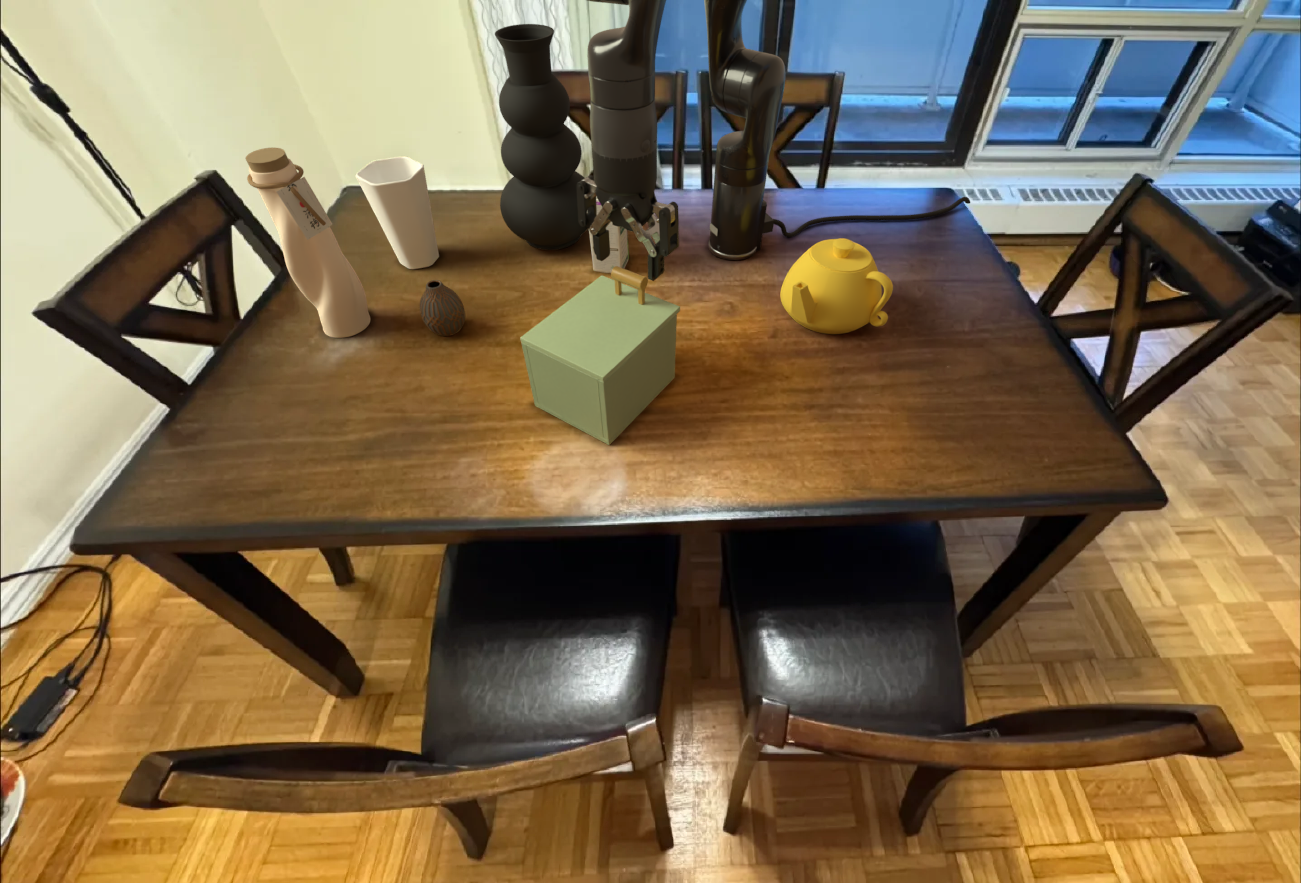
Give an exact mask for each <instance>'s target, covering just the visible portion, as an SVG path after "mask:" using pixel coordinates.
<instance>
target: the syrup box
mask: <svg viewBox="0 0 1301 883" xmlns="http://www.w3.org/2000/svg"><path fill="white" fill-rule="evenodd" d="M596 208H597V215H598V213H599V212H600V210H601V209H602V206H601V204H600V202H599V200H598V198H597V197H596ZM606 230H609V241H610V255H609V257H607V258H606V259H605V260H603V261H600V260H597V258H596V255H595V253H594V247H593V235H592V234H591V233H590V230H589V229H588V234H589V243H590V250H591V260H592V269H593V271H594V272H596V273H597V272H598V273H602V274H603V273H604V274H611V272H612V269H613V268H614V267H615V266H618V267H621V268H623V269H626V267H627V265H628V262H629V259H630V249H629V231H628V230H626V229H625V228H623V227H617V226H614V225H613V224H612V222H610V223H609V225H608V226H607V227H606Z"/></svg>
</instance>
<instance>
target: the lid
mask: <svg viewBox="0 0 1301 883" xmlns="http://www.w3.org/2000/svg"><path fill="white" fill-rule="evenodd" d="M610 277H611V278H610ZM610 277H607V276H604V275H600V276H599V277H597V278H596V279H595V280H594V281H592V282H591V283H590V284H588V285H587V286H586V287H584V288H583V289H582V290H581V291H579V292H578V293H577V294H575V295H574V296H573V297H571V298H570V299H569V300H567V301H566V302H565V303H564V304H562V305H561V306H559V307H558V308H557V309H555V310H554V311H553V312H552V313H550V314H549V315H547V316H546V317H545V318H544V319H542V320H541V321H540V322H538V323H537V324H536V325H535V326H533V327H532V328H530V329H529V330H528V331H527V332H525V333H524V334H523V335H522V336H520V337H519V339H520V342H521V343H524V344H526V345H528V346H530V347H532V348H534V349H536V350H538V351H540V352H543V353H545V354H547V355H549V356H551V357H553V358H555V359H557V360H559V361H561V362H563V363H565V364H567V365H569V366H571V367H573V368H576V369H578V370H580V371H582V372H584V373H586V374H588V375H590V376H592V377H594V378H596V379H598V380H600V381H602V382H604V381H605V380H606V379H607V378H608V377H610V376H611V375H612V374H613V373H614V372H615V371H616V370H617V369H618V368H619V367H620V366H621V365H622V364H624V363H625V362H626V361H627V360H628V359H629V358H630V357H631V356H632V355H633V354H634V353H635V352H636V351H638V350H639V349H640V348H641V347H642V346H643V345H644V344H645V343H646V342H647V341H648V340H649V339H650V338H652V337H653V336H654V335H655V334H656V333H657V332H658V331H659V330H660V329H661V328H662V327H663V326H664V325H666V324H667V323H668V322H669V321H670V320H671V319H672V318H673V317H674V316H675V315H676V314H677V315H678V313H680V312H681V306H680V305H677V304H675V303H673V302H670V301H668V300H665V299H663V298H660V297H657V296H655V295H653V294H651V293H648V292H646V288H647V286H648V282H649V279H648V276H644V275H641V274H638V273H636V272H635V271H632V270H628V269H627V268H625V269H623V268H621V267H618V266H615V267H614V268H613V269H612V272H611V273H610Z"/></svg>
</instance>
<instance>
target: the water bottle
mask: <svg viewBox="0 0 1301 883" xmlns="http://www.w3.org/2000/svg"><path fill="white" fill-rule="evenodd" d="M245 161H246V164H247V165H248V172H249V174H248V175H247V177H246V180H247V183H248V184H249V185H250V186H251V187H252V188H255V189H257V191H258V193H259V195H260V197H261V199H262V201H263V203H264V205H265V207H266V209H267V211H268V213H269V216H270V218H271V220H272V222H273V224H274V226H275V228H276V230H277V232H278V236H279V240H280V245H281V249H282V250H281V251H282V254H283V257H284V262H285V265H286V268H287V271H288V273H289V275H290V277H291V279H292V281H293V282H294V284H295V285H296V287H297V288H298V290H299V291H300V292H301V294H302V295H303V296H304V298H306V299H307V301H309V302H310V303H311V304H312V305H313V306H314V307H315V309H316V310H317V313H318V316H319V320H320V323H321V327H322V331H323V332H324V334H325V335H326V336H328V337H330V338H334V339H341V338H342V339H343V338H349V337H352V336H355V335H357V334H360V333H361V332H363V331H364V330H366V328H367V327H369V325H370V323H371V316H370V313H369V308H368V300H367V295H366V291H365V288H364V286H363V283H362V281H361V279H360V278H359V276H358V274H357V272H356V271H355V269H354V268H353V266H352V265H351V263H350V261H349V259H348V258H347V257H346V256H345V255H344V253H343V252H342V251H343V250H342V249H341V246H340V245H339V242H338V239H337V238H336V236H335V234H334V232H333V230H332V228H331V227H332V226H333V225H334V224H333V223H332V220H331V219H330V217H329V216H328V214H327V212H326V210H325V209H324V207H323V205H322V204H321V202H320V200H319V198H318V197H317V195H316V194H315V192H314V191H313V189H312V187H311V185H310V184H309V181H308V180H307V179H306V177H305V176H304V172H305V171H304V169H303V168H302V167H301V166H300V165H297V164H295V163H293V161H292V160H291V158H288V156H287V153H286V150H284V149H283V148H281V147H265V148H259V149H256V150H253V151H252V152H250V153H248V154H247V155H246V156H245Z"/></svg>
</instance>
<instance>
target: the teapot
mask: <svg viewBox="0 0 1301 883" xmlns="http://www.w3.org/2000/svg"><path fill="white" fill-rule="evenodd" d="M871 253H872V252H870V251H869V250H868V249H867V248H866V247H865V246H864V245H863V246H862V245H861V244H859V243H857V242H855V241H853V240H851V239H849V238H843V237H842V238H828V239H824V240H821V241H818V242H816V243H814V244H813V245H812V246H811V247H809V248H808V249H807V250H806V251H805V252H804V253H803V254H802V255H800V256H799V258H798V259H797V260H796V261H795V262H794V263H793V264H792V265H791V267H790V269H789V270H788V271H787V273H786V276H784V278H783V282H782V284H781V285H782V286H781V288H780V291H779V292H780V294H779V295H780V301H781V304H782V307H783V308H784V310H785V311H786V313H787V314H788V315H789V317H791V318H792V320H794V322H796V323H797V324H799V325H800V326H802V327H803V328H805V329H807V330H810V331H813V332H816V333H821V334H826V335H827V334H828V335H842V334H847V333H851V332H854V331H856V330H858V329H860V328H862V327H864V326H866V325H868V324H869V323H870V325H871V326H872V327H878V328H879V327H883V326H885V325H886V324H887V322H888V319H889V316H888V314H887V312H886V311H883V310H882V309H883V308H884V307H885V305H886V304H887V302H888V301H889V300H890V298H891V296H892V294H893V291H894V285H893V284H894V283H893V281H892V280H891V278H890V277H889V276H888V275H886V274H885V273H883V272H881V271H879V270H878V267H877V264H876V262H875V259H874V257H873V255H872V254H871ZM882 288H883V289H882ZM882 293H883V294H882Z"/></svg>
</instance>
